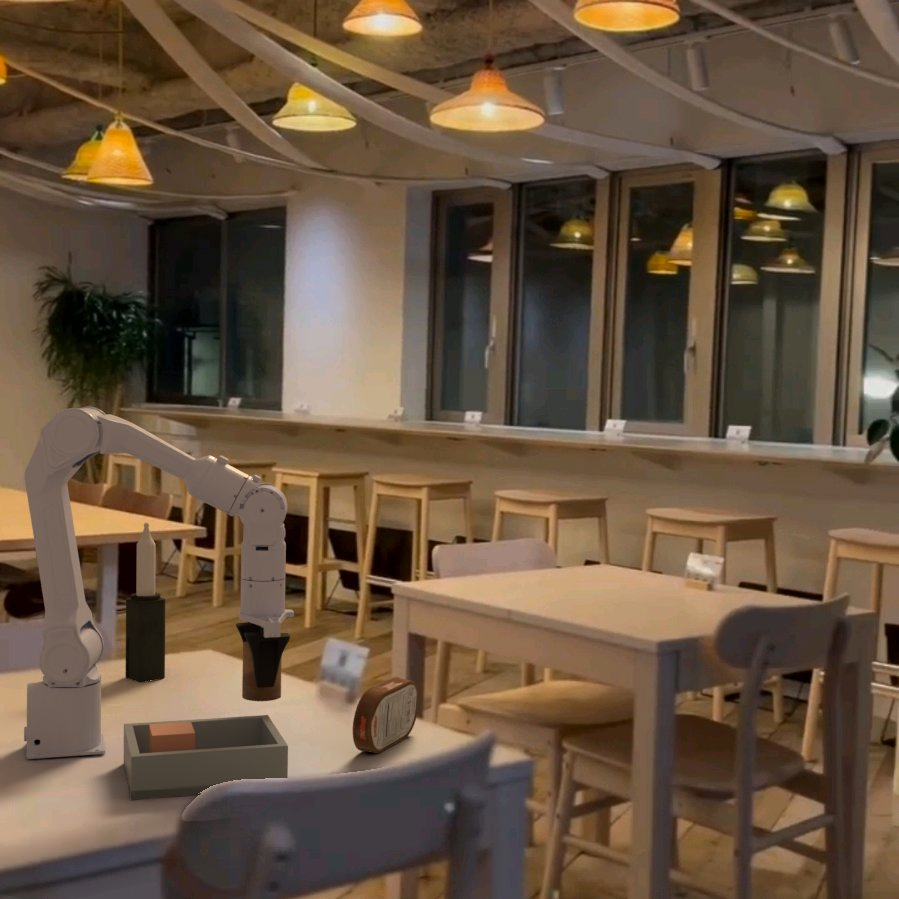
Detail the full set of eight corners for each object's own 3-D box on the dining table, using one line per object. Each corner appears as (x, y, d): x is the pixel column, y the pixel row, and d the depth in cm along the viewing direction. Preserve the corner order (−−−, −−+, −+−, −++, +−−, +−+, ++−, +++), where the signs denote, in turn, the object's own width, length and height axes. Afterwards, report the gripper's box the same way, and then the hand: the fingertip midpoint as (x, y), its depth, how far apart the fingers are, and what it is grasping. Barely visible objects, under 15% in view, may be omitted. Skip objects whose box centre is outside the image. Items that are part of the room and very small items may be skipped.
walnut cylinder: (245, 702, 159) (246, 648, 159) (239, 692, 164) (240, 640, 164) (284, 699, 161) (285, 646, 160) (277, 690, 165) (277, 638, 165)
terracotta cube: (151, 777, 147) (152, 735, 147) (148, 764, 152) (149, 724, 151) (194, 774, 148) (195, 733, 148) (190, 762, 153) (190, 721, 153)
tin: (401, 729, 173) (402, 669, 173) (421, 732, 172) (422, 672, 172) (349, 758, 160) (350, 693, 159) (371, 762, 158) (372, 696, 158)
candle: (167, 677, 200) (169, 522, 199) (140, 683, 196) (141, 525, 195) (149, 672, 203) (151, 520, 202) (122, 677, 200) (123, 522, 198)
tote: (130, 800, 142) (131, 756, 142) (123, 763, 155) (123, 724, 155) (287, 787, 148) (288, 745, 147) (267, 753, 161) (267, 714, 161)
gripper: (305, 586, 156) (303, 693, 157) (283, 568, 170) (281, 667, 170) (248, 587, 154) (247, 696, 154) (231, 570, 167) (229, 670, 168)
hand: (261, 681), depth 162 cm, fingers closed on walnut cylinder, 5 cm apart
